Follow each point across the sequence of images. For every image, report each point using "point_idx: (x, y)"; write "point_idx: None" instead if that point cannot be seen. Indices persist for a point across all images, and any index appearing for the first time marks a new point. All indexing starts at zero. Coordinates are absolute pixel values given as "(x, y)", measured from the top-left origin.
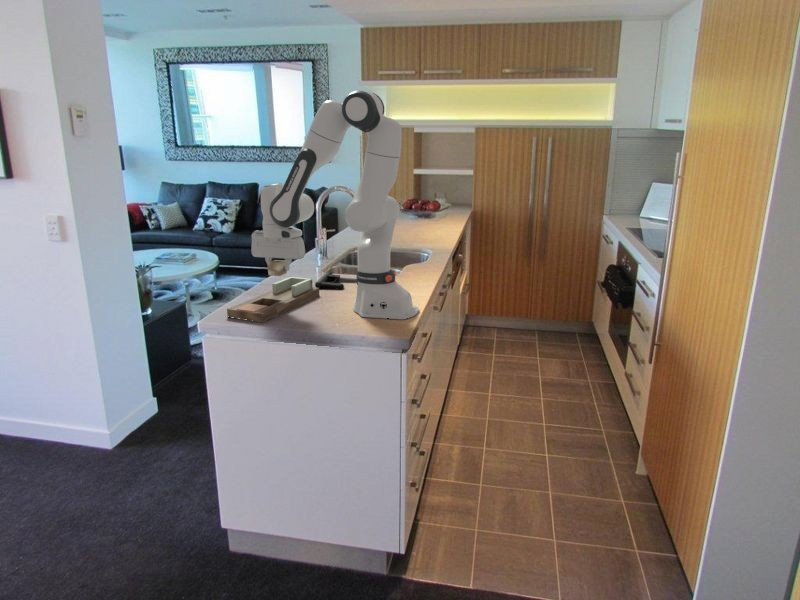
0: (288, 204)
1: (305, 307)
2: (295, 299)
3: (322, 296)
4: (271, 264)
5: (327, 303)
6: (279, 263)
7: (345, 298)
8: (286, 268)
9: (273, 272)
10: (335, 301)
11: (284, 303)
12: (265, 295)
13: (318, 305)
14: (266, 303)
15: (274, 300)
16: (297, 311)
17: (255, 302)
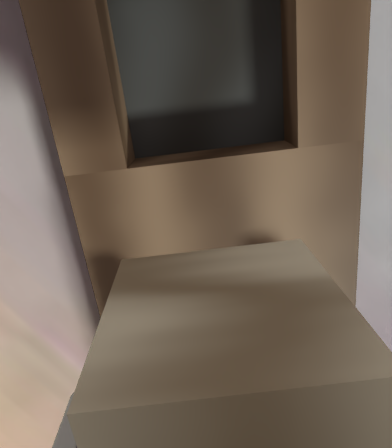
0: None
1: (45, 244)
2: (82, 242)
3: None
4: (274, 359)
5: (8, 351)
6: (82, 438)
7: (5, 443)
8: (63, 420)
9: (217, 271)
10: (4, 391)
11: (52, 109)
12: (325, 210)
13: (17, 305)
14: (263, 144)
15: (197, 158)
16: (19, 157)
17: (293, 38)
